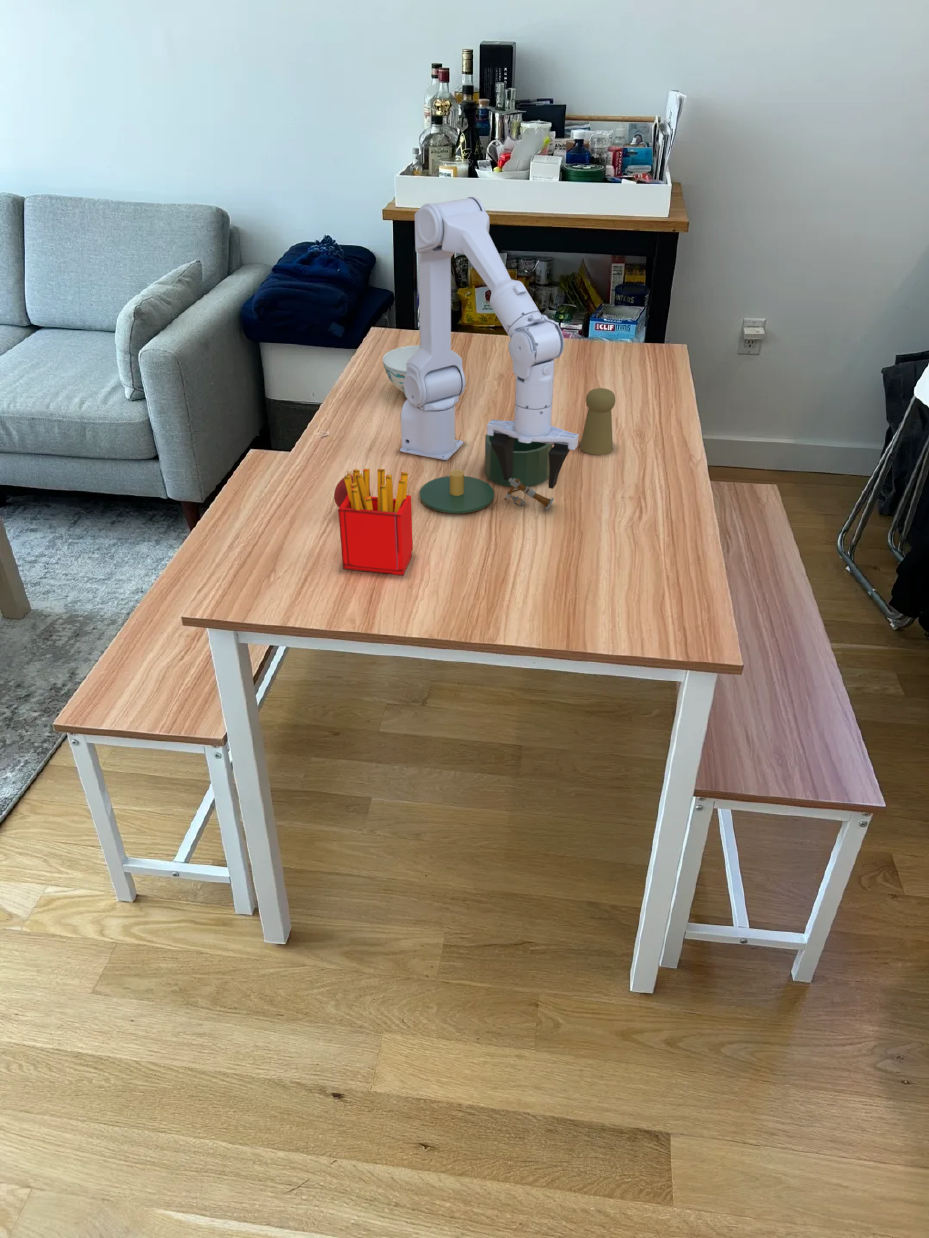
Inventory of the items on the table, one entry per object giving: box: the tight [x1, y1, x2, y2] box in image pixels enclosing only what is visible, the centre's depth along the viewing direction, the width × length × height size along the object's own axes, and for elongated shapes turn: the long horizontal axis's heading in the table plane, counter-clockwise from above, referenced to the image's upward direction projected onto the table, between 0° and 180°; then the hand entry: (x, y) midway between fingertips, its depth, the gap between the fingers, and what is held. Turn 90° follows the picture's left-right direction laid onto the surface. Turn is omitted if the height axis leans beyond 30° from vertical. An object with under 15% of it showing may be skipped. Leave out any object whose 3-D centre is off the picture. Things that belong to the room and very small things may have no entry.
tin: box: [484, 433, 553, 488], centre depth 167 cm, size 11×11×6 cm
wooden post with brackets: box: [503, 478, 555, 512], centre depth 158 cm, size 2×8×4 cm, turn 72°
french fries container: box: [337, 468, 414, 576], centre depth 140 cm, size 7×9×14 cm
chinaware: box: [382, 344, 420, 399], centre depth 194 cm, size 15×15×8 cm
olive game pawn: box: [579, 387, 616, 456], centre depth 173 cm, size 6×6×11 cm
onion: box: [333, 470, 372, 509], centre depth 153 cm, size 6×6×8 cm
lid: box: [419, 469, 495, 514], centre depth 159 cm, size 12×12×5 cm
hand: (530, 481), depth 156 cm, fingers open, 7 cm apart
